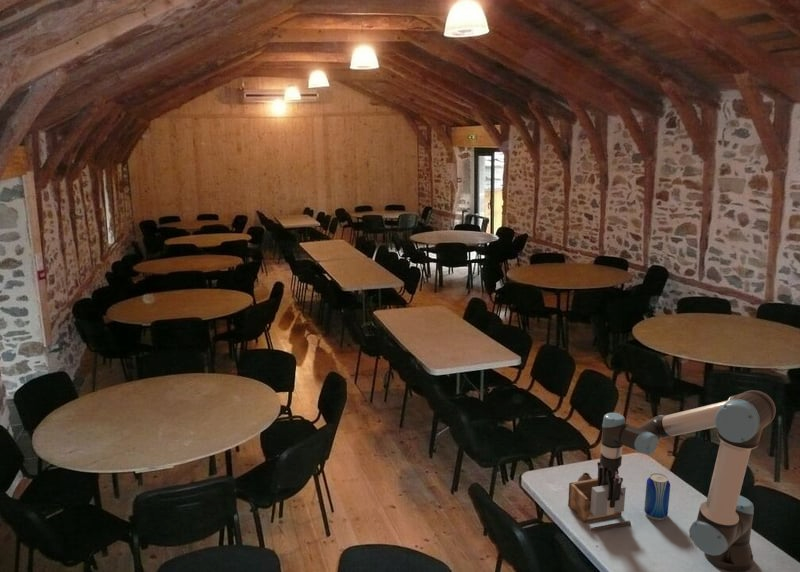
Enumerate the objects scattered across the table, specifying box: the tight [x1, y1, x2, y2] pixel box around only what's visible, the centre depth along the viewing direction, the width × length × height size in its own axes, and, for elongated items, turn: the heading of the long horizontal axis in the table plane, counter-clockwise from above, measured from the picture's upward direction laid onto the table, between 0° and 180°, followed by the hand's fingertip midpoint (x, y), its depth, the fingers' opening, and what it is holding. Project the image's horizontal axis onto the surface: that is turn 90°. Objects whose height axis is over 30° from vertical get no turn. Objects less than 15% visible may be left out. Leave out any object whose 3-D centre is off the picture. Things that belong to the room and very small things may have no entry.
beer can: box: [643, 472, 671, 521], centre depth 250 cm, size 8×8×16 cm
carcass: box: [567, 477, 632, 533], centre depth 251 cm, size 18×16×10 cm
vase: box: [576, 472, 593, 482], centre depth 266 cm, size 7×7×9 cm
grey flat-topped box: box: [590, 483, 627, 516], centre depth 244 cm, size 5×12×10 cm, turn 105°
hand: (606, 510), depth 246 cm, fingers closed on grey flat-topped box, 3 cm apart
